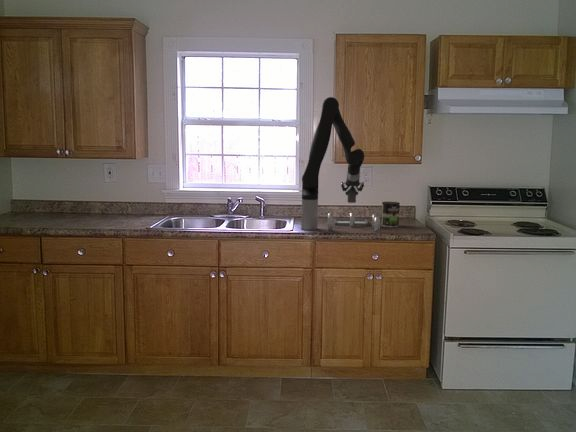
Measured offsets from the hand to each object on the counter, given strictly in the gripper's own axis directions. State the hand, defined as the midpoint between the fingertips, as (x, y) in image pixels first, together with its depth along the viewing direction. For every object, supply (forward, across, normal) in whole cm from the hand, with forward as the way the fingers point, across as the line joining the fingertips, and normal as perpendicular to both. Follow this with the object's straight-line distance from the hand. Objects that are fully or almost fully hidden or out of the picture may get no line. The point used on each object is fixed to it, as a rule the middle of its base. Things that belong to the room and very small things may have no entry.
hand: (351, 194), depth 334 cm
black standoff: (+2, 0, +5) cm, 5 cm away
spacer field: (-2, 0, +28) cm, 28 cm away
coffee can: (+7, -23, +18) cm, 30 cm away
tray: (+11, 0, +14) cm, 18 cm away
